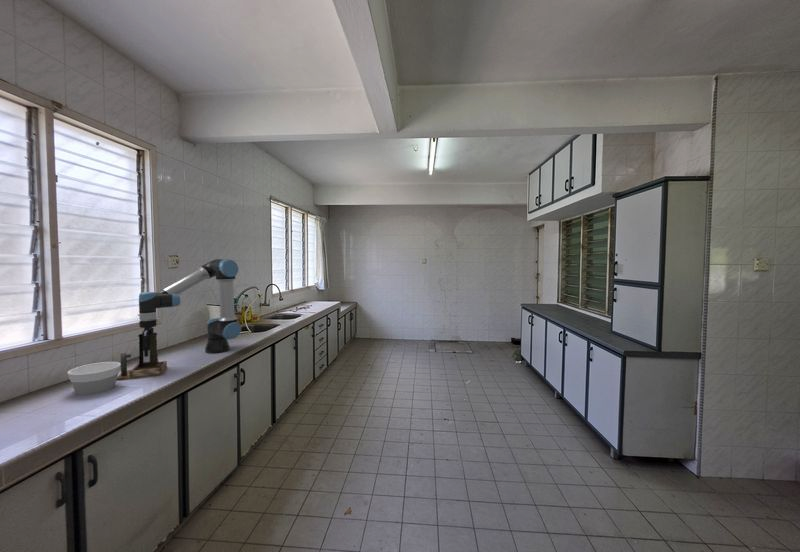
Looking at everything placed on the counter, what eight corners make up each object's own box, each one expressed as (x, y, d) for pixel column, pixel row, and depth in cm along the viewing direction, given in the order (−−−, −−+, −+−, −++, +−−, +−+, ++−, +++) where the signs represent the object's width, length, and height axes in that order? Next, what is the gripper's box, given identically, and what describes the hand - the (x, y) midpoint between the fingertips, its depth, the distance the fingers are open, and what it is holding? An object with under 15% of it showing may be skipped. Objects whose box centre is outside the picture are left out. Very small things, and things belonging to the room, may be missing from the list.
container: (162, 363, 186) (162, 332, 185) (148, 368, 177) (148, 336, 176) (148, 362, 187) (147, 331, 186) (133, 367, 178) (133, 335, 177)
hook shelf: (166, 367, 191) (166, 345, 191) (161, 375, 179) (161, 352, 178) (123, 372, 182) (123, 349, 182) (115, 380, 170) (114, 356, 169)
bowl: (128, 386, 163) (127, 365, 162) (76, 400, 146) (75, 377, 146) (112, 379, 172) (112, 359, 172) (62, 391, 156) (61, 369, 155)
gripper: (144, 317, 188) (145, 355, 189) (134, 323, 170) (135, 366, 171) (160, 316, 192) (160, 354, 193) (151, 322, 173) (152, 364, 174)
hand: (148, 359), depth 182 cm, fingers closed on container, 8 cm apart
